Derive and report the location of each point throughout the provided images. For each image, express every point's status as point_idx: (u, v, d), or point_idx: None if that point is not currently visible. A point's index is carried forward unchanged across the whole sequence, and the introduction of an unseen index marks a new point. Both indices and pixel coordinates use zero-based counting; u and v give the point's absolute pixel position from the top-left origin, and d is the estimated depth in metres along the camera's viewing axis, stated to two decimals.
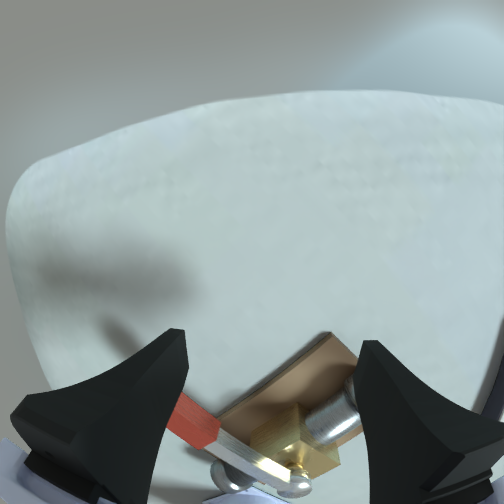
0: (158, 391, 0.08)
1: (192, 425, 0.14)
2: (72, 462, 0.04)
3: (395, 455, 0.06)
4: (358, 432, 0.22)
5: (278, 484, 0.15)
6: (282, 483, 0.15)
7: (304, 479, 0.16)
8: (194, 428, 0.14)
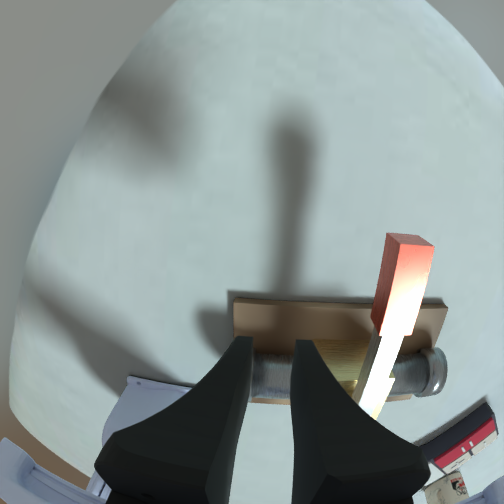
0: (239, 403, 0.08)
1: (418, 303, 0.12)
2: (188, 501, 0.04)
3: (303, 463, 0.06)
4: None
5: None
6: None
7: None
8: (415, 308, 0.12)
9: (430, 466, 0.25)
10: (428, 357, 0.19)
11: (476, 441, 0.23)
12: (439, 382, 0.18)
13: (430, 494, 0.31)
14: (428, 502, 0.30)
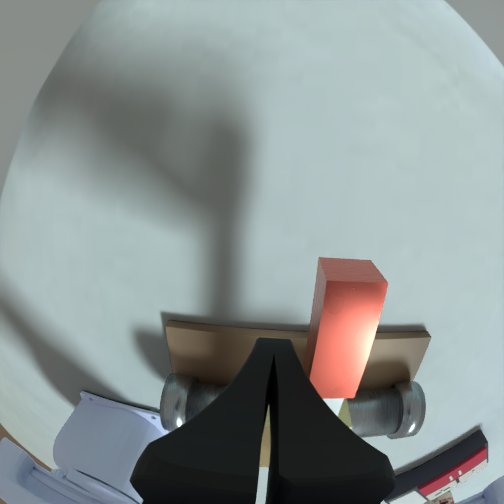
0: (265, 405, 0.08)
1: (362, 361, 0.08)
2: None
3: (272, 463, 0.06)
4: None
5: None
6: None
7: None
8: (358, 367, 0.08)
9: (413, 494, 0.21)
10: (402, 395, 0.16)
11: (465, 470, 0.20)
12: (414, 425, 0.14)
13: None
14: None
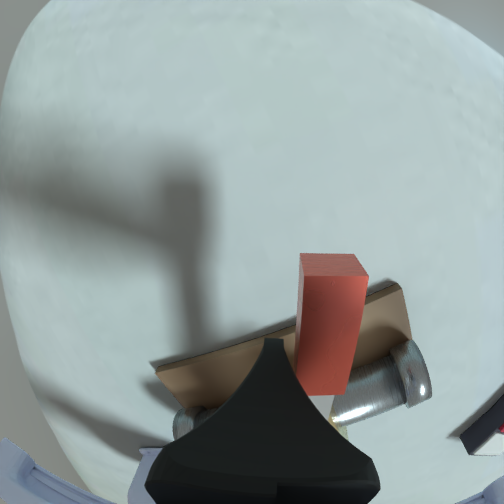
0: None
1: (349, 357, 0.08)
2: None
3: None
4: None
5: None
6: None
7: None
8: (345, 363, 0.08)
9: (497, 436, 0.17)
10: (395, 361, 0.15)
11: None
12: (421, 389, 0.13)
13: None
14: None
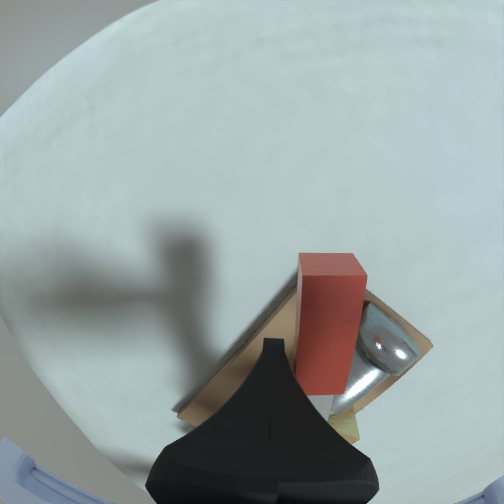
0: None
1: (348, 357, 0.08)
2: None
3: None
4: (382, 390, 0.18)
5: None
6: None
7: None
8: (344, 363, 0.08)
9: None
10: None
11: None
12: (392, 354, 0.12)
13: None
14: None
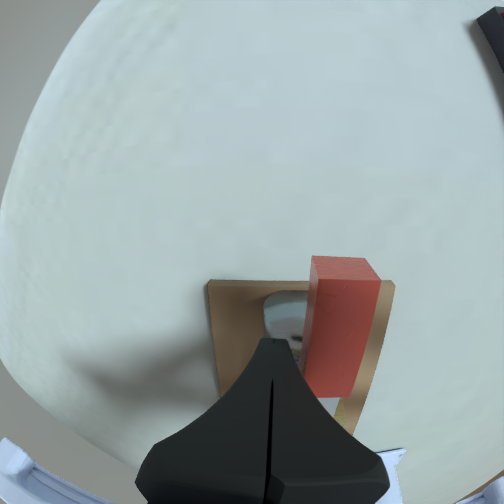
0: (269, 406, 0.08)
1: (357, 360, 0.08)
2: None
3: (267, 462, 0.06)
4: (376, 353, 0.17)
5: None
6: None
7: None
8: (352, 366, 0.08)
9: None
10: None
11: None
12: (295, 341, 0.13)
13: None
14: None
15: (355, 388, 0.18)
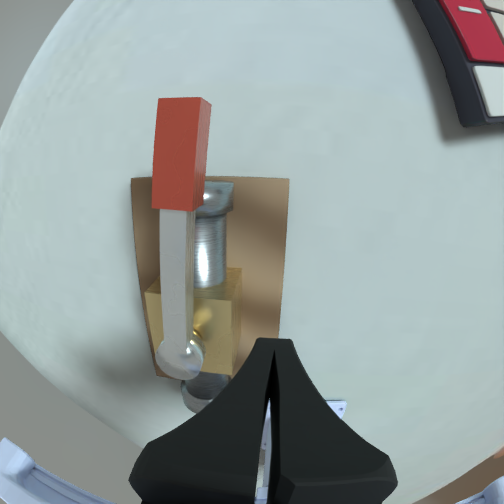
0: (265, 405, 0.08)
1: (191, 167, 0.11)
2: None
3: (273, 463, 0.06)
4: (281, 254, 0.20)
5: (174, 338, 0.14)
6: (180, 341, 0.14)
7: (201, 357, 0.15)
8: (188, 173, 0.11)
9: (487, 71, 0.11)
10: None
11: None
12: None
13: None
14: None
15: (266, 296, 0.21)
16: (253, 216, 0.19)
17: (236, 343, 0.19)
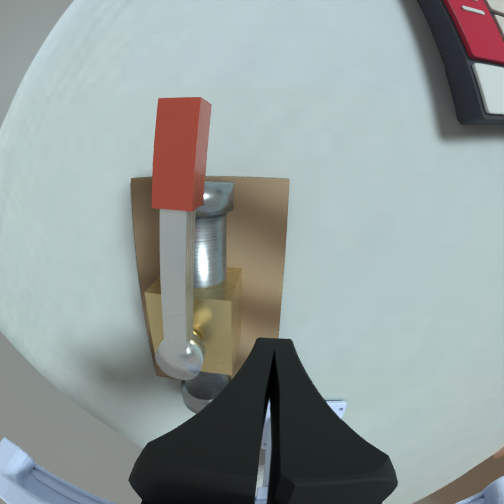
0: (265, 405, 0.08)
1: (191, 167, 0.11)
2: None
3: (273, 463, 0.06)
4: (281, 254, 0.20)
5: (174, 338, 0.14)
6: (180, 341, 0.14)
7: (201, 357, 0.15)
8: (188, 173, 0.11)
9: (487, 69, 0.11)
10: None
11: None
12: None
13: None
14: None
15: (266, 296, 0.21)
16: (253, 216, 0.19)
17: (236, 343, 0.19)
